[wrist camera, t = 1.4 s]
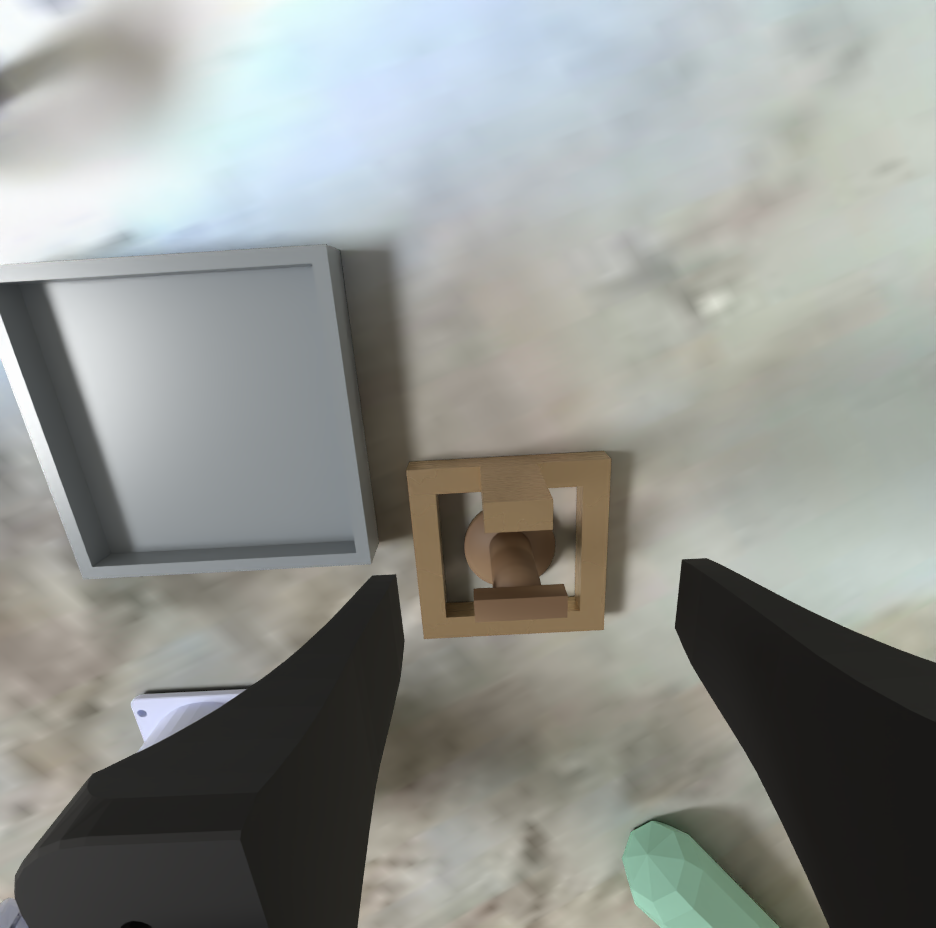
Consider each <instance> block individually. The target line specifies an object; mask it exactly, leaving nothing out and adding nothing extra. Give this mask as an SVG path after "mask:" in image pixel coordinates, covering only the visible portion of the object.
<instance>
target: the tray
mask: <svg viewBox="0 0 936 928" xmlns="http://www.w3.org/2000/svg"><path fill="white" fill-rule="evenodd" d="M0 358H1V361H2V363H3V366H4V369H5V371H6V374H7V377H8V379H9V382H10V385H11V387H12V390H13V393H14V395H15V398H16V401H17V403H18V406H19V409H20V411H21V414H22V417H23V419H24V422H25V425H26V427H27V430H28V433H29V435H30V438H31V441H32V443H33V446H34V449H35V451H36V454H37V457H38V459H39V462H40V465H41V467H42V470H43V473H44V475H45V478H46V481H47V483H48V486H49V489H50V491H51V494H52V497H53V499H54V502H55V505H56V508H57V510H58V513H59V516H60V518H61V521H62V524H63V526H64V529H65V532H66V534H67V537H68V540H69V542H70V545H71V548H72V550H73V553H74V556H75V558H76V561H77V564H78V566H79V569H80V572H81V574H82V577H83V579H97V578H116V577H135V576H154V575H173V574H192V573H211V572H229V571H248V570H267V569H286V568H305V567H324V566H343V565H362V564H371V563H372V561H373V558H374V555H375V552H376V549H377V547H378V544H379V539H378V532H377V524H376V517H375V509H374V502H373V494H372V487H371V479H370V472H369V464H368V457H367V449H366V442H365V434H364V427H363V419H362V412H361V404H360V397H359V389H358V382H357V374H356V367H355V359H354V352H353V344H352V337H351V329H350V322H349V314H348V307H347V299H346V292H345V284H344V277H343V269H342V262H341V254H340V250H338V249H336V248H334V247H331V246H329V245H327V244H322V245H306V246H290V247H274V248H258V249H241V250H225V251H209V252H193V253H177V254H161V255H145V256H129V257H113V258H97V259H81V260H65V261H49V262H33V263H17V264H1V265H0Z"/></svg>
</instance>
